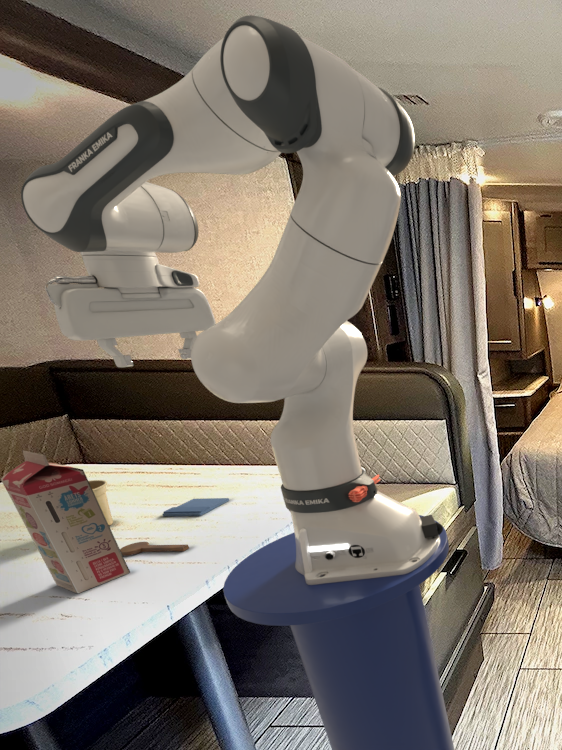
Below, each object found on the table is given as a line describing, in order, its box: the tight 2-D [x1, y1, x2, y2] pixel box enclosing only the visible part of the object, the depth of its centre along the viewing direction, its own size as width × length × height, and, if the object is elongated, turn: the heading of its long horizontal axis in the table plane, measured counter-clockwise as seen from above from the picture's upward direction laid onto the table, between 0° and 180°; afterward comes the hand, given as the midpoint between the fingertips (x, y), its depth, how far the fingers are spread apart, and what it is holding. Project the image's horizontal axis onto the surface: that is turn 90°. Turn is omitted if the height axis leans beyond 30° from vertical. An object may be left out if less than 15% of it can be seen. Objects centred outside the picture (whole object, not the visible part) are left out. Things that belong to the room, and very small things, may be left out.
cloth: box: [162, 497, 230, 517], centre depth 109 cm, size 8×8×1 cm
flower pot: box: [88, 479, 114, 526], centre depth 99 cm, size 9×9×9 cm
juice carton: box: [0, 450, 131, 595], centre depth 79 cm, size 7×7×22 cm
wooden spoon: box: [119, 541, 190, 557], centre depth 91 cm, size 12×4×1 cm, turn 90°
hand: (158, 362), depth 86 cm, fingers open, 8 cm apart
